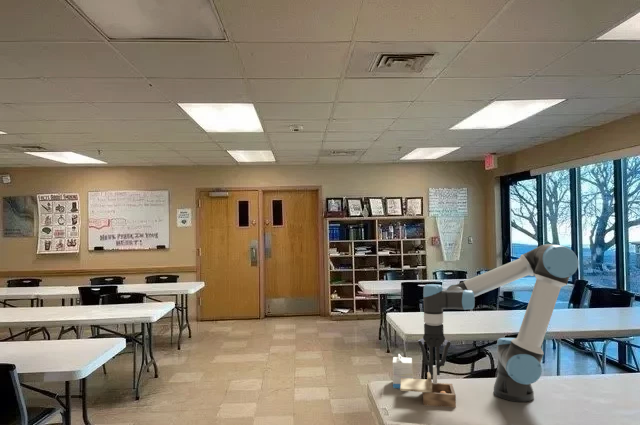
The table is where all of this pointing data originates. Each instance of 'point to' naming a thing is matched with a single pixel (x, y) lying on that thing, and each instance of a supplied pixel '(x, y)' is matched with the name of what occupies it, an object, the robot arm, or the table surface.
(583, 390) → the table surface
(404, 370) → the ink box
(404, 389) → the lid
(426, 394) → the box
